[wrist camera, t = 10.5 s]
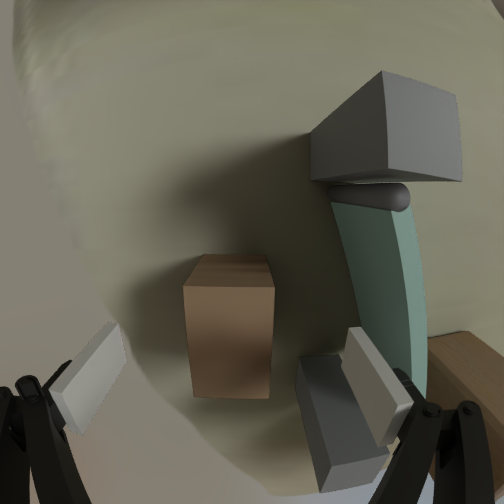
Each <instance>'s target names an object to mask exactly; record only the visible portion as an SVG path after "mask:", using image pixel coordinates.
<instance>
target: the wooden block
mask: <svg viewBox="0 0 504 504" xmlns="http://www.w3.org/2000/svg"><path fill="white" fill-rule="evenodd" d="M425 400H426V401H427V402H433V403H436V404H438V405H439V406H441V407H442V409H443V410H450V409H456V408H457V407H458V405H459V403H460V402H462V401H465V400H470V401H473V402H475V403H477V404H478V405H479V406H480V408H481V412H482V416H483V420H484V424H485V429H486V434H487V439H488V444H489V450H490V456H491V463H492V471H493V481H494V495H495V501H497V500H498V499H499V498H500V497H502V496H503V495H504V357H503V356H502V355H500V354H499V353H498V352H496V351H495V350H494V349H492V348H491V347H490V346H488V345H487V344H486V343H485V342H483V341H482V340H480V339H479V338H478V337H476V336H475V335H474V334H472V333H471V332H469V331H462V332H457V333H452V334H448V335H443V336H437V337H432V338H427V385H426V399H425ZM429 474H430V475H431V477H432V479H433V481H435V453H434V456H433V460H432V463H431V466H430V469H429Z"/></svg>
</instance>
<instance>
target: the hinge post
mask: <svg viewBox="0 0 504 504" xmlns="http://www.w3.org/2000/svg"><path fill="white" fill-rule="evenodd" d="M310 180H314V181H330V182H344V183H378V182H414V181H456V182H462V149H461V134H460V124H459V115H458V107H457V100H456V95H454V94H452V93H449V92H447V91H444V90H442V89H439V88H437V87H434V86H431V85H428V84H425V83H423V82H420V81H417V80H413V79H410V78H407V77H404V76H400V75H397V74H393V73H390V72H386V71H380V72H379V73H378V74H377V75H376V76H374V77H373V78H372V79H371V80H370V81H368V82H367V83H366V84H365V85H364V86H362V87H361V88H360V89H359V90H358V91H357V92H355V93H354V94H353V95H352V96H351V97H350V98H348V99H347V100H346V101H345V102H344V103H343V104H341V105H340V106H339V107H338V108H337V109H336V110H335V111H333V112H332V113H331V114H330V115H329V116H328V117H327V118H326V119H324V120H323V121H322V122H321V123H320V124H319V125H318V126H317V127H315V128H314V129H313V130H312V131H311V132H310Z"/></svg>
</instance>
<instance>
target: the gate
mask: <svg viewBox="0 0 504 504" xmlns="http://www.w3.org/2000/svg"><path fill="white" fill-rule="evenodd" d="M327 197H328V199H329V200H330V201H331V202H330V203H331V206H332V209H333V213H334V216H335V219H336V223H337V226H338V230H339V233H340V237H341V241H342V245H343V248H344V252H345V256H346V260H347V264H348V268H349V272H350V276H351V281H352V285H353V289H354V294H355V298H356V303H357V308H358V312H359V317H360V323H361V328H362V329H363V331H364V332H365V333H366V335H367V336H368V337H369V339H370V340H371V341H372V343H373V344H374V346H375V347H376V348H377V350H378V351H379V353H380V354H381V355H382V357H383V358H384V360H385V361H386V362H387V364H388V365H389V367H390V368H391V369H393V368H399V369H401V370H402V371H404V372H405V373H406V374H407V375H408V376H409V378H410V380H412V382H413V383H414V385H415V386H416V387H417V389H418V390H419V391H420V393H421V394H422V395H423V397H424V398H425V399H426V385H427V318H426V302H425V291H424V281H423V272H422V264H421V257H420V251H419V244H418V239H417V233H416V228H415V223H414V218H413V213H412V208H411V204H409V203H410V193H409V190H408V188H407V187H406V186H405V185H404V184H402V183H370V184H348V185H333V186H331V187H330V188H329V189H328V191H327Z"/></svg>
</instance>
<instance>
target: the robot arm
mask: <svg viewBox="0 0 504 504" xmlns="http://www.w3.org/2000/svg"><path fill="white" fill-rule="evenodd" d="M126 363H127V358H126V354H125V350H124V346H123V341H122V337H121V332H120V327H119V323H112V322H108V323H107V324H106V325H105V326H104V327H103V328H102V329H101V330H100V331H99V332H98V333H97V334H96V335H95V336H94V337H93V339H92V340H91V341H90V342H89V343H88V344H87V345H86V346H85V347H84V349H83V350H82V351H81V352H80V353H79V354H78V355H77V356H76V358H75V359H74V360H73V361H72V360H69V361H67V362H66V363H64V364H62V365H61V366H60V367H59V368H58V370H57V371H56V372H55V373H54V375H52V376H51V378H50V379H49V380H48V381H47V382H46V383H45V384H44V386H43V387H42V388H41V385H40V383H39V381H38V379H37V378H36V377H35V376H32V375H27V376H23V377H21V378H20V379H18V380H17V382H16V383H15V387H16V389H17V391H18V393H19V395H20V396H14V395H13V394H12V392H11V390H10V389H9V388H8V387H4V386H3V387H0V504H30V493H29V492H30V491H29V484H30V467H31V472H32V476H33V480H34V484H35V488H36V492H37V496H38V499H39V503H40V504H92V503H91V501H90V499H89V497H88V495H87V492H86V490H85V488H84V485H83V483H82V480H81V478H80V475H79V473H78V470H77V467H76V464H75V462H74V459H73V456H72V453H71V450H70V447H69V443H68V440H67V437H66V433H65V431H64V430H63V427H64V426H65V424H67V426H68V428H69V430H70V431H71V432H73V433H76V434H79V435H82V436H83V435H84V434H85V432H86V430H87V428H88V427H89V425H90V423H91V421H92V420H93V418H94V416H95V414H96V413H97V411H98V409H99V407H100V406H101V404H102V402H103V401H104V399H105V397H106V396H107V394H108V392H109V391H110V389H111V387H112V386H113V384H114V382H115V381H116V379H117V377H118V376H119V374H120V373H121V371H122V369H123V368H124V366H125V364H126ZM341 368H342V370H343V372H344V374H345V376H346V378H347V380H348V382H349V385H350V387H351V389H352V391H353V393H354V395H355V397H356V400H357V402H358V404H359V406H360V408H361V411H362V413H363V415H364V417H365V419H366V422H367V424H368V426H369V428H370V430H371V433H372V435H373V437H374V440H375V442H376V444H377V446H378V447H381V446H385V445H389V444H393V442H394V440H395V438H396V437H397V436H398V438H399V440H400V443H399V444H398V446H397V448H396V449H395V451H394V453H393V454H392V455H393V457H392V460H391V462H390V464H389V466H388V468H387V470H386V472H385V474H384V476H383V478H382V480H381V482H380V484H379V486H378V487H377V489H376V491H375V493H374V494H373V496H372V498H371V500H370V501H369V503H368V504H417V502H418V499H419V497H420V494H421V492H422V489H423V486H424V484H425V481H426V478H427V475H428V472H429V469H430V466H431V463H432V460H433V456H434V453H435V481H434V497H433V504H495V495H494V481H493V471H492V463H491V456H490V450H489V444H488V439H487V434H486V429H485V424H484V420H483V416H482V412H481V408H480V406H479V405H478V404H477V403H475V402H473V401H470V400H465V401H462V402H460V403H459V405H458V407H457V408H456V409H450V410H443V409H442V407H441V406H439V405H438V404H436V403H433V402H427V401H426V400H425V398H424V397H423V395H422V394H421V393H420V391H419V390H418V389H417V387H416V386H415V385H414V383H413V382H412V380H410V378H409V376H408V375H407V374H406V373H405V372H404V371H402V370H401V369H399V368H393V369H391V368H390V367H389V365H388V364H387V362H386V361H385V360H384V358H383V357H382V355H381V354H380V353H379V351H378V350H377V348H376V347H375V346H374V344H373V343H372V341H371V340H370V339H369V337H368V336H367V335H366V333H365V332H364V331H363V329H362V328H361V327H351V328H348V334H347V339H346V344H345V350H344V355H343V359H342V364H341Z"/></svg>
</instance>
